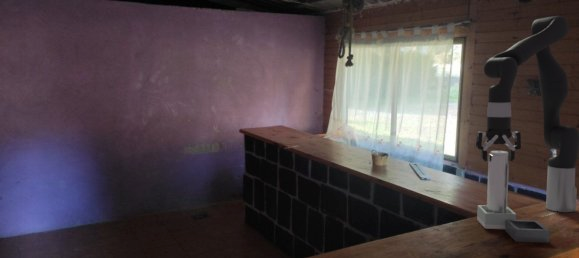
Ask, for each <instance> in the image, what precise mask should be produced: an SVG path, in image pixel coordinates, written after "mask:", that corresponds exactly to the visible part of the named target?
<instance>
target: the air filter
mask: <svg viewBox="0 0 579 258" xmlns="http://www.w3.org/2000/svg"><path fill="white" fill-rule="evenodd" d="M487 161H488V162H487V163H488V164H487V165H488V166H487V167H488V169H487V188H486V189H487V193H486V205H487V213H507V207H508V192H509V191H508V190H509V188H508V187H509V186H508V185H509V170H510V169H509V167H510V161H509V151H506V150H491V151H490V153H489V152H488V160H487Z"/></svg>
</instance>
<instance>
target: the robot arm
mask: <svg viewBox="0 0 579 258" xmlns="http://www.w3.org/2000/svg"><path fill="white" fill-rule="evenodd" d="M569 27H570V25H569V21H568V20H567V18H566V17H565V16H562V15H555V16H554V15H553V16H547V17H542V18H538V19H535V20H534V21H533V22H532V24H531V29H530V33H531V36H528V37H526V38H524V39H522V40H519V41H518V42H516V43H515V44H513V45H512V46H511V47H509V48H508V49H506V50H505V51H502V52H499V53H497V54H496V55H494V56H492V57H490V58H489V59H488V60H487V61H486V62H485V63H484V66H483V73H484V75H486V77H488V78H489V79H499V82H498V83H497V84H495V85H491V86H490V87H489V89H488V103H487V104H488V105H487V108H486V109H487V112H486V117H487V118H486V131H484V132H482V131H477V132H476V140H475V141H476V142H475V148H476V149H478V150H480V151H481V160H482V161H483V162H487V161H488V149H489V148H490V147H491V146H492V145H505V146H507V148H508V149H509V150H508V155H509V162H513V161H514V160H515V157H516V156H515V155H516V151H517V150H521V147H522V140H521V139H522V138H521V137H522V136H521V135H522V134H521V132H520V131H517V130H516V131H511V128H512V127H511V125H512V124H511V123H512V105H511V103H512V102H511V101H512V98H511V97H512V89H513V86H514V82H515V79H516V77H517V74H518V73H517V72H518V67H520V66H522V65H523V64H524V63H525V62H526V61H527V62H528V60H529V59H530V58H532V57H533V56H536V63H537V70H538V79H539V81H538V82H539V89H540V90H539V91H540V95H541V102H542V103H541V104H542V115H543V116H542V118H543V122H542V123H543V129H542V130H543V139H544V143H545V145H546V146H547V147H549V148H551V149H557V150H559V152H558V155H557V156H552V157H549V158H548V160H547V175H546V176H547V178H546V179H547V180H546V196H545V198H546V199H545V200H546V201H545V208H546V209H547V210H549V211H552V212H557V211H558V212H559V213H572V212H576V211H577V210H576V209H577V192H578V191H577V187H576V186H575V184H576V183H575V182H576V164H577V161H578V159H579V130H578V128H576V127H575V126H570V125H561V120H560V113H561V109H562V107H563V106H564V103H565V101H566V100H567V98H568V95H569V92H570V91H569V90H570V89H569V88H570V87H569V80H568V74H567V73H566V72H567V71H565V69H564V68H563V67H562V65H561V64H560V63H559V62H558V60H557V59H556V58H555V57H554V55H553V54H552V51H551V47H550V46H551V45H553V44H556V43H558V42H560V41H561V40H563V39H565V38H566V37H567V35H568V33H569V29H570V28H569ZM485 137H486V138H487V139H486V140H485V142H484V143H483V139H484V138H485ZM511 137H513V139H514V145H513V143H512V142H511V140H509V139H510V138H511ZM482 143H483V145H482Z"/></svg>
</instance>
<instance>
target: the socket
mask: <svg viewBox="0 0 579 258" xmlns="http://www.w3.org/2000/svg"><path fill="white" fill-rule="evenodd" d="M504 230H505V233H506V234H508V235H509V236H510V238H511V239H512V240H514V242H516V243H544V244H549V243H550V234H551V232H550V231H551V230H550V229H548V227H546V226H545V225H544V224H542V222H540V221H538V220H533V219H531V220H529V219H528V220H527V219H526V220H524V219H516V220H506V224H505V229H504Z"/></svg>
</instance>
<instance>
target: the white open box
mask: <svg viewBox="0 0 579 258" xmlns="http://www.w3.org/2000/svg"><path fill="white" fill-rule="evenodd" d="M476 210H477V212H476V213H477V214H476V220H477V221H478V222H479V223H480V225H481V226H483V228H484V229H487V230H489V229H490V230H492V229H493V230H505V224H506V220H517V213H516V212H515V211H514V210H512V209H511V208H510V207H509V206H507V213H487V204H485V205H484V204H483V205H482V204H478V205H477V209H476Z"/></svg>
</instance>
